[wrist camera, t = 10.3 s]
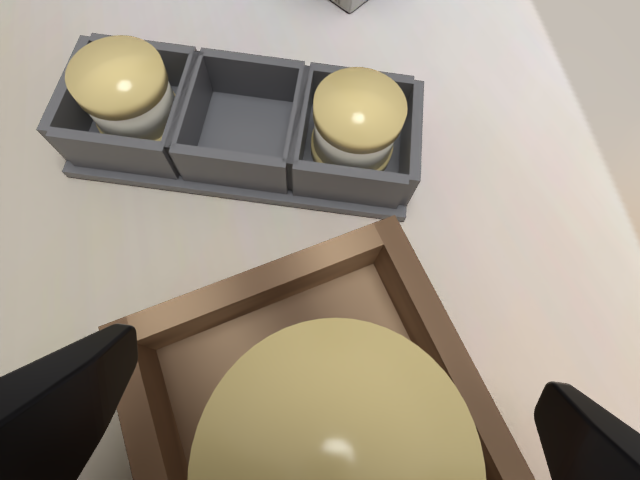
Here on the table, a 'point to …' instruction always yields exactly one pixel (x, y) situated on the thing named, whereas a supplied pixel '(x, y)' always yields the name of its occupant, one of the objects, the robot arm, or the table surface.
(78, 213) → the table surface
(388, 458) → the cream capped cylinder
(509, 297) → the table surface
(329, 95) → the cream domed cylinder
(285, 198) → the grey compartment tray
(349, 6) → the coffee box
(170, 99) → the fuse
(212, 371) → the walnut tray
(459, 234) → the table surface
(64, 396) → the robot arm
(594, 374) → the table surface
